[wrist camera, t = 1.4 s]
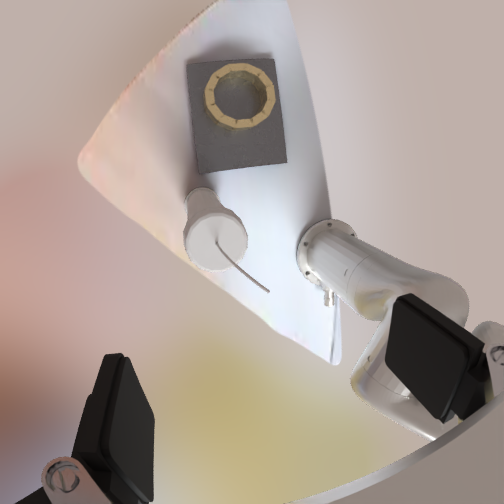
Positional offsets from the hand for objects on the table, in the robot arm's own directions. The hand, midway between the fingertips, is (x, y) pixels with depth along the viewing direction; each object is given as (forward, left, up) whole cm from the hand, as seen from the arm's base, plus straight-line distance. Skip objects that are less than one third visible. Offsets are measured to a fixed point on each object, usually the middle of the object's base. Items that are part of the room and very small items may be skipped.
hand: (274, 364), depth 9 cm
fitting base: (+14, -7, -40) cm, 43 cm away
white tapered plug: (0, 0, -40) cm, 40 cm away
